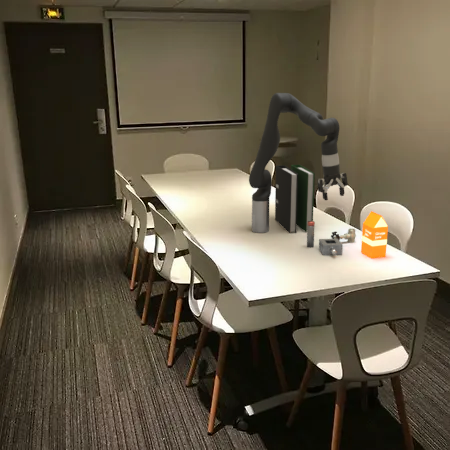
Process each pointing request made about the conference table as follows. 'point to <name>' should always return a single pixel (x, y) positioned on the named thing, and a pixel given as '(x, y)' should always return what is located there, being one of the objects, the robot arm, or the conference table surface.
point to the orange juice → (374, 236)
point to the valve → (345, 235)
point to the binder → (294, 197)
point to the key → (310, 234)
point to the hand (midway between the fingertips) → (333, 197)
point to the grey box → (330, 247)
